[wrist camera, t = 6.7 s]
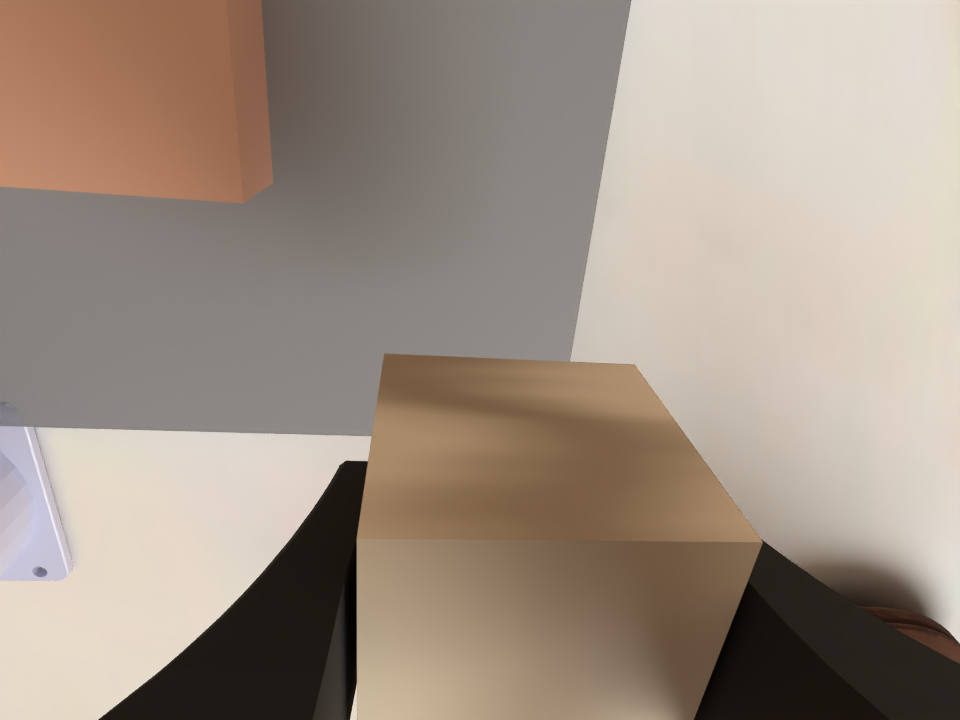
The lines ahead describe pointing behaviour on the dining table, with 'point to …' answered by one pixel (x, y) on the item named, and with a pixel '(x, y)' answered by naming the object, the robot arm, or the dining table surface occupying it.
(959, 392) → the dining table surface
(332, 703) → the robot arm
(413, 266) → the build board
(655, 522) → the beech cube
